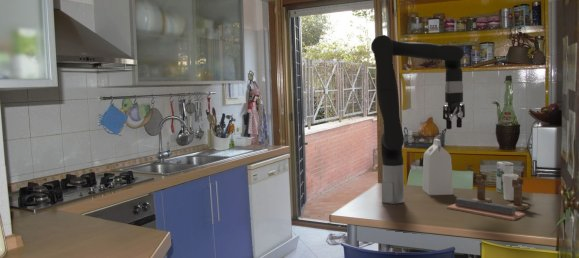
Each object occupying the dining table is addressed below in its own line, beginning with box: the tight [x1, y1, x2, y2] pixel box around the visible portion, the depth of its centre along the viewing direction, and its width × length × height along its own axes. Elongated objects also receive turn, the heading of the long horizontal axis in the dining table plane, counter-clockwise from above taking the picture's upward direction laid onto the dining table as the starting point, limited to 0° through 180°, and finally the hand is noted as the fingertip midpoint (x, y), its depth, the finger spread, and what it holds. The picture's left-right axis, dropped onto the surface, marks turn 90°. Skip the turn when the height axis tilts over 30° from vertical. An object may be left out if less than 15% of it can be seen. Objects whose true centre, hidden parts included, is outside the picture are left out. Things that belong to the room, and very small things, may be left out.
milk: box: [422, 138, 454, 196], centre depth 233 cm, size 12×12×26 cm
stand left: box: [470, 173, 493, 203], centre depth 212 cm, size 7×6×12 cm
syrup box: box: [495, 161, 515, 194], centre depth 229 cm, size 6×6×14 cm
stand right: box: [507, 177, 530, 212], centre depth 200 cm, size 7×6×12 cm
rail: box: [454, 197, 516, 216], centre depth 195 cm, size 3×24×3 cm, turn 41°
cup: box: [502, 173, 519, 201], centre depth 215 cm, size 7×7×11 cm
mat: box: [446, 203, 525, 222], centre depth 196 cm, size 10×28×1 cm, turn 41°
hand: (454, 128), depth 212 cm, fingers open, 8 cm apart
